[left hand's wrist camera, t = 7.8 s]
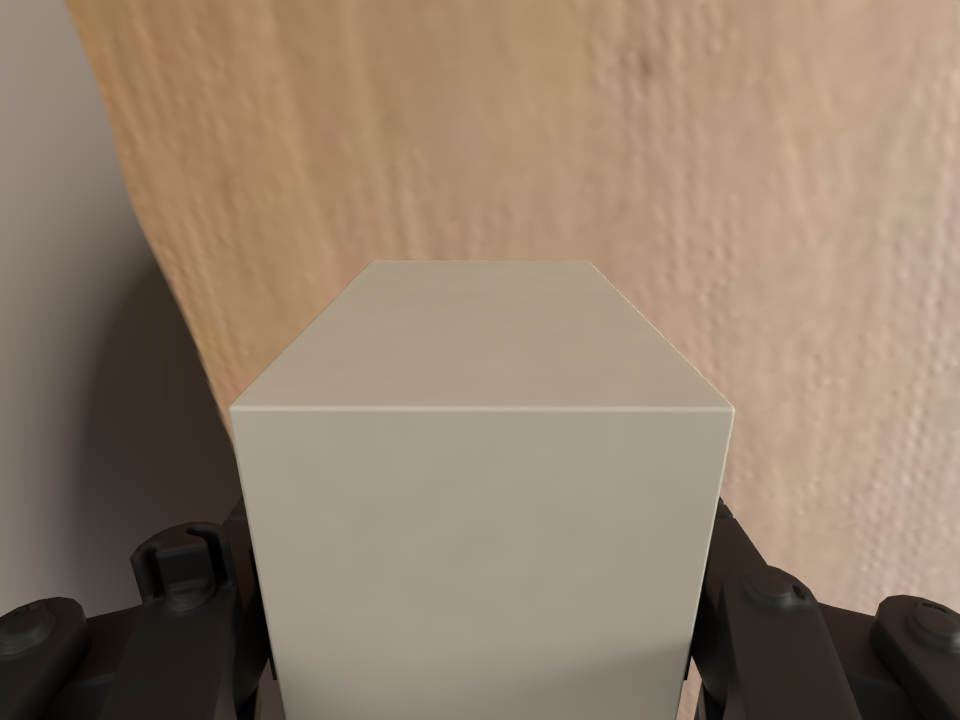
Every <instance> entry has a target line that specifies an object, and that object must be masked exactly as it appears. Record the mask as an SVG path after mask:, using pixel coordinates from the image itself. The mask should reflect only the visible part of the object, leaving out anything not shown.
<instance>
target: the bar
mask: <svg viewBox="0 0 960 720" xmlns="http://www.w3.org/2000/svg"><path fill="white" fill-rule="evenodd" d="M228 415H229V421H230V426H231V432H232V437H233V443H234V448H235V453H236V459H237V464H238V470H239V475H240V480H241V486H242V491H243V497H244V502H245V508H246V513H247V518H248V524H249V529H250V535H251V540H252V545H253V551H254V556H255V562H256V567H257V573H258V578H259V583H260V589H261V594H262V600H263V605H264V610H265V616H266V621H267V627H268V632H269V638H270V643H271V648H272V654H273V659H274V665H275V670H276V675H277V681H278V686H279V691H280V697H281V703H282V708H283V713H284V719H285V720H676V717H677V712H678V707H679V701H680V696H681V691H682V686H683V681H684V675H685V670H686V665H687V660H688V655H689V650H690V644H691V639H692V634H693V629H694V624H695V618H696V613H697V608H698V603H699V598H700V592H701V587H702V582H703V577H704V572H705V566H706V561H707V556H708V551H709V546H710V540H711V535H712V530H713V525H714V520H715V514H716V509H717V504H718V499H719V494H720V488H721V483H722V478H723V473H724V468H725V463H726V457H727V452H728V447H729V442H730V437H731V431H732V426H733V421H734V416H735V409H734V407H733V406H732V405H731V404H730V402H729V401H728V400H727V399H726V398H725V397H724V396H723V395H722V394H721V393H720V392H719V391H718V390H717V389H716V388H715V387H714V386H713V385H712V384H711V383H710V382H709V381H708V380H707V379H706V378H705V377H704V376H703V375H702V374H701V373H700V372H699V371H698V370H697V369H696V368H695V367H694V366H693V365H692V364H691V363H690V362H689V361H688V360H687V359H686V358H685V357H684V356H683V355H682V354H681V353H680V352H679V351H678V350H677V349H676V348H675V347H674V346H673V345H672V344H671V343H670V342H669V341H668V340H667V339H666V338H665V337H664V336H663V335H662V334H661V333H660V332H659V331H658V330H657V329H656V328H655V327H654V326H653V325H652V324H651V323H650V322H649V321H648V320H647V319H646V318H645V317H644V316H643V315H642V314H641V313H640V312H639V311H638V310H637V309H636V308H635V307H634V306H633V305H632V304H631V303H630V302H629V301H628V300H627V299H626V298H625V297H624V296H623V295H622V294H621V293H620V292H619V291H618V290H617V289H616V288H615V287H614V286H613V285H612V284H611V283H610V282H609V281H608V280H607V279H606V278H605V277H604V276H603V275H602V274H601V273H600V272H599V271H598V270H597V269H596V268H595V267H594V266H593V265H592V264H591V263H590V262H589V261H405V260H373V261H371V262H370V263H369V264H368V265H367V266H366V267H365V268H364V269H363V270H362V271H361V272H360V273H359V274H358V275H357V276H356V277H355V278H354V279H353V280H352V282H351V283H350V284H349V285H348V286H347V287H346V288H345V289H344V290H343V291H342V292H341V293H340V294H339V295H338V296H337V297H336V298H335V299H334V300H333V301H332V302H331V303H330V304H329V305H328V306H327V307H326V308H325V309H324V310H323V311H322V312H321V313H320V314H319V315H318V316H317V317H316V318H315V319H314V320H313V321H312V322H311V323H310V324H309V325H308V326H307V327H306V328H305V329H304V330H303V331H302V332H301V333H300V334H299V335H298V336H297V337H296V338H295V339H294V340H293V341H292V342H291V343H290V345H289V346H288V347H287V348H286V349H285V350H284V351H283V352H282V353H281V354H280V355H279V356H278V357H277V358H276V359H275V360H274V361H273V362H272V363H271V364H270V365H269V366H268V367H267V368H266V369H265V370H264V371H263V372H262V373H261V374H260V375H259V376H258V377H257V378H256V379H255V380H254V381H253V382H252V383H251V384H250V385H249V386H248V387H247V388H246V389H245V390H244V391H243V392H242V393H241V394H240V395H239V396H238V397H237V398H236V399H235V400H234V401H233V402H232V403H231V404H230V405H229V407H228Z"/></svg>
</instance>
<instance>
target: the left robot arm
mask: <svg viewBox="0 0 960 720" xmlns="http://www.w3.org/2000/svg"><path fill="white" fill-rule="evenodd" d="M130 561H131V564H132V568H133V571H134V574H135V578H136V581H137V585H138V588H139V591H140V595H141V598H142V602H143V603H142V605H139V606H135V607H132V608H129V609H125V610H120V611H116V612H112V613H108V614H104V615H99V616H95V617H91V618H86V617H85V614H84V611H83V608H82V606H81V605H80V604H79V603H78V602H76V601H75V600H74V599H70V598H63V597H55V598H48V599H42V600H37V601H35V602H32V603H29V604H26V605H24V606H21V607H18V608H16V609H14V610H12V611H11V612H9V613H7V614H5V615H3V616H2V617H0V720H260V718H261V708H262V700H261V693H260V687H259V683H258V682H259V679H260V677H261V675H262V672H263V670H264V667H265V665H266V663H267V660H268V658H269V660H270V665H271V670H272V675H273V680H277V675H276V670H275V665H274V659H273V654H272V648H271V643H270V638H269V632H268V627H267V621H266V616H265V610H264V605H263V600H262V594H261V589H260V583H259V578H258V573H257V567H256V562H255V556H254V551H253V545H252V540H251V535H250V529H249V524H248V518H247V513H246V508H245V502H244V497H243V496H242V497H241V499H240V500H239V501H238V503H237V506H236V507H234V509H233V510H232V512H231V513H230V514H229V516H228V520H225V522H224V523H223V525H222V526H220V525H219V524H215V523H211V522H207V521H205V522H189V523H185V524H181V525H177V526H173V527H170V528H168V529H166V530H164V531H162V532H160V533H157V534H155V535H153V536H152V537H151V538H149V539H148V540H147V541H145V542H144V543H143V544H141V545H140V546H139V547H138V548H137V549H136V551H135V552H134V554H133V555H132V556H131V558H130ZM691 656H692V657H693V659H694V662H695V664H696V666H697V669H698V671H699V674H700V676H701V678H702V683H701V687H700V692H699V697H698V702H697V707H696V712H695V716H694V720H960V614H958V613H956V612H955V611H953V610H951V609H949V608H947V607H946V606H944V605H941V604H938V603H936V602H933V601H930V600H927V599H924V598H921V597H914V596H908V595H897V596H890V597H887V598H886V599H885V600H883V601H882V602H881V603H880V604H879V607H878V610H877V612H876V615H875V616H871V615H866V614H862V613H858V612H854V611H849V610H845V609H841V608H837V607H832V606H829V605H826V604H823V603H819V602H817V600H816V599H815V597H814V596H813V594H812V593H811V591H810V589H809V588H808V587H806V586H805V585H804V584H803V583H802V582H800V581H799V580H798V579H797V578H796V577H794V576H792V575H790V574H788V573H786V572H785V571H783V570H781V569H779V568H776V567H772V566H769V565H767V564H766V562H765V561H764V559H763V558H762V556H761V555H760V553H759V552H758V551H757V549H756V548H755V546H754V545H753V543H752V542H751V540H750V539H749V538H748V536H747V535H746V533H745V532H744V530H743V529H742V527H741V526H740V525H739V523H738V522H737V520H736V519H735V518H733V515H732V513H731V512H730V510H729V509H728V507H727V506H726V505H724V503H723V500H722V499H721V497H720V496H719V499H718V504H717V509H716V514H715V520H714V525H713V530H712V535H711V540H710V546H709V551H708V556H707V561H706V566H705V572H704V577H703V582H702V587H701V592H700V598H699V603H698V608H697V613H696V618H695V624H694V629H693V634H692V639H691V644H690V650H689V655H688V660H687V665H686V670H685V675H684V680H687V677H688V672H689V667H690V661H691Z"/></svg>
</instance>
